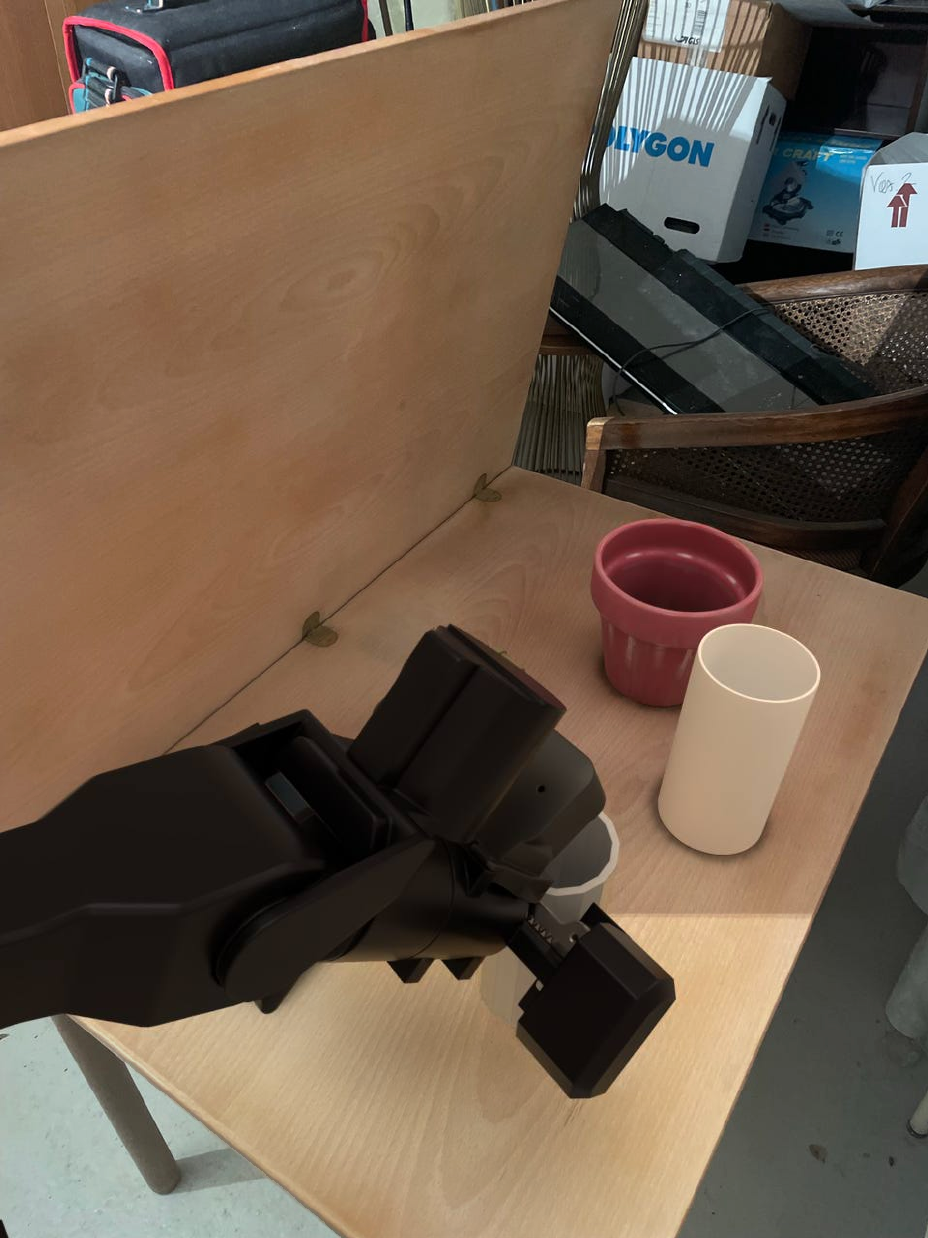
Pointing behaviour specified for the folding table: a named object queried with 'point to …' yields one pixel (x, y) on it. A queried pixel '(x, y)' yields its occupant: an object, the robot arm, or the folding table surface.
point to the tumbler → (555, 911)
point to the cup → (735, 736)
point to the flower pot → (667, 601)
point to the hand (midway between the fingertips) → (560, 900)
